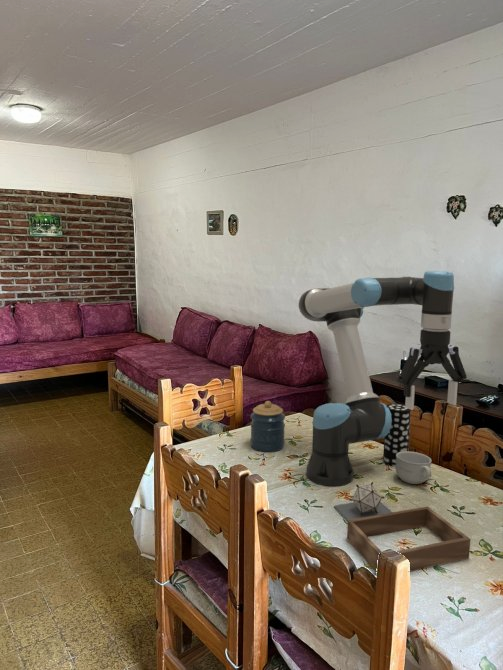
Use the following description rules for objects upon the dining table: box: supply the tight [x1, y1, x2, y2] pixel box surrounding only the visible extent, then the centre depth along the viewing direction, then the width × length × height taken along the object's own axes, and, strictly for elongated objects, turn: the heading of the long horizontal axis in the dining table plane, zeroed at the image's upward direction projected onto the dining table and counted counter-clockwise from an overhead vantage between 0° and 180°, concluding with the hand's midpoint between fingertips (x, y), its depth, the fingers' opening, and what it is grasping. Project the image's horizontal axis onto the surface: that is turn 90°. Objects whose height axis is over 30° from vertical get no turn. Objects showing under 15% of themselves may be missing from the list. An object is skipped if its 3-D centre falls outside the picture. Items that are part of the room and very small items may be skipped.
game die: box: [348, 481, 386, 516], centre depth 136 cm, size 9×8×10 cm
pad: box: [333, 501, 394, 523], centre depth 137 cm, size 12×14×1 cm
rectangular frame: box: [346, 506, 471, 572], centre depth 121 cm, size 16×24×5 cm, turn 107°
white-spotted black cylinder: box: [382, 403, 412, 468], centre depth 170 cm, size 8×8×20 cm
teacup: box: [395, 451, 432, 485], centre depth 156 cm, size 14×11×8 cm
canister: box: [250, 400, 286, 453], centre depth 184 cm, size 13×13×18 cm
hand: (430, 406), depth 134 cm, fingers open, 13 cm apart
